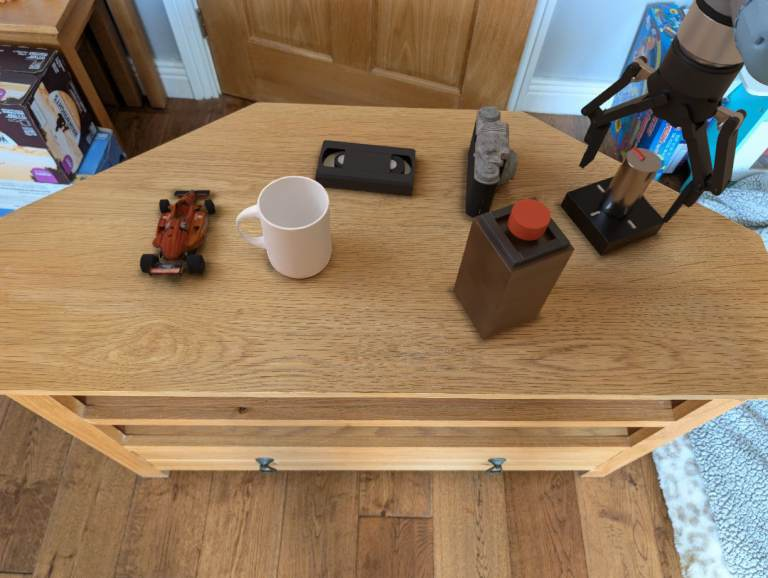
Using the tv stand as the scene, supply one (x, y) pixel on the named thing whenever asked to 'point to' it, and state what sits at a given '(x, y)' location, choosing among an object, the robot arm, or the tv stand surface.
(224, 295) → the tv stand surface
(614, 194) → the dial
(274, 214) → the mug
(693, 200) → the robot arm
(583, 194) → the dial panel
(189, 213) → the toy car
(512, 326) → the pillar
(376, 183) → the vhs tape
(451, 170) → the tv stand surface
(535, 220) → the press knob
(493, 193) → the camera
